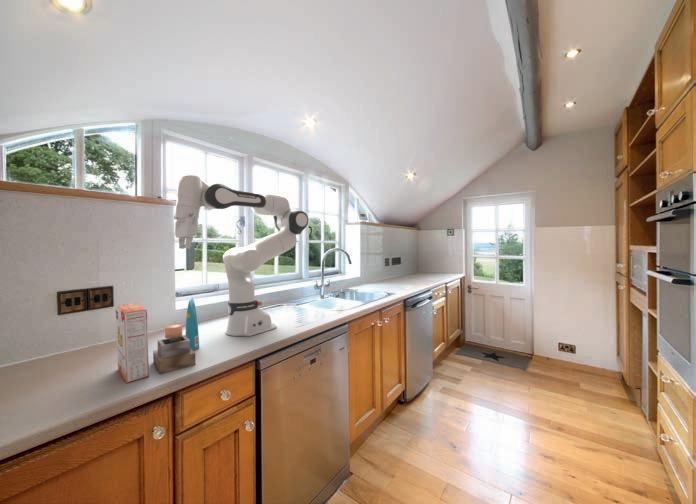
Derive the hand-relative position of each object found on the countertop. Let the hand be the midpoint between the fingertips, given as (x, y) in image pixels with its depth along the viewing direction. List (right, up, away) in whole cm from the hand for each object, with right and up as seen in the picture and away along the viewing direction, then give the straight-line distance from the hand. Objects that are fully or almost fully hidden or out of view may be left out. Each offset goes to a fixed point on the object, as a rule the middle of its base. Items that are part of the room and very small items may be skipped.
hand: (184, 248), depth 112 cm
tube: (+6, -39, -5) cm, 40 cm away
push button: (+7, -32, -19) cm, 37 cm away
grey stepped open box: (+7, -39, -18) cm, 44 cm away
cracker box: (-1, -40, -25) cm, 47 cm away
